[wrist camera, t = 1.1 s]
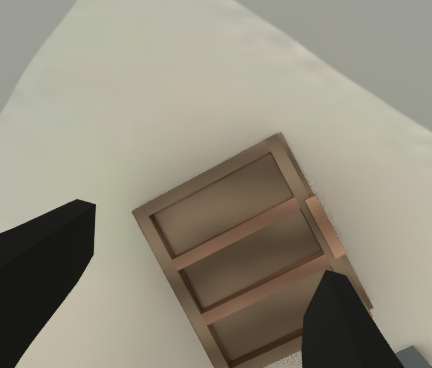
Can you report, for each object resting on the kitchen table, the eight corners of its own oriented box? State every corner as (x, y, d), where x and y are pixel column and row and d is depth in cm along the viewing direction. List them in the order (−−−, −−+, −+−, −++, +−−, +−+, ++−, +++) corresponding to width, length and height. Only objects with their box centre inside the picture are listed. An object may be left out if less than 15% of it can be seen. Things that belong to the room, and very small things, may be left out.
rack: (369, 303, 30) (381, 317, 28) (221, 372, 32) (218, 392, 29) (279, 133, 30) (282, 130, 28) (135, 210, 32) (124, 214, 29)
